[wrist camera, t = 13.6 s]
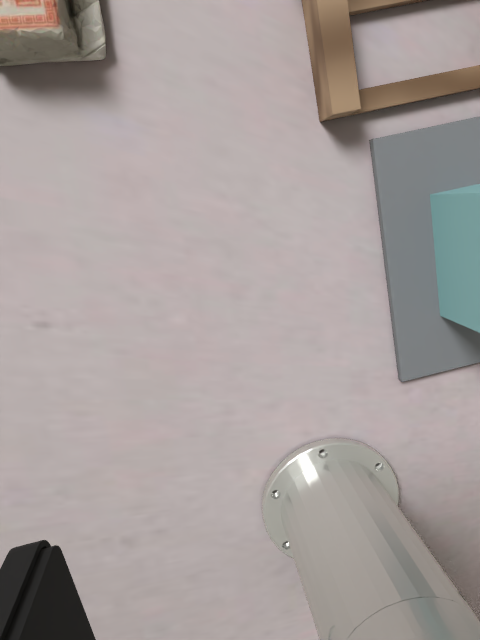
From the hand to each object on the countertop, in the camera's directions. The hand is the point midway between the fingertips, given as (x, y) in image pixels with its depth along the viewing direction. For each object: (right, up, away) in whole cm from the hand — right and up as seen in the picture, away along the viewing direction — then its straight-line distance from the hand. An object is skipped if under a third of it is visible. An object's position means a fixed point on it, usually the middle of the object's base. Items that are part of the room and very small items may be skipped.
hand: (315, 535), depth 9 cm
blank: (+16, +10, +28) cm, 34 cm away
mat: (+16, +10, +29) cm, 35 cm away
